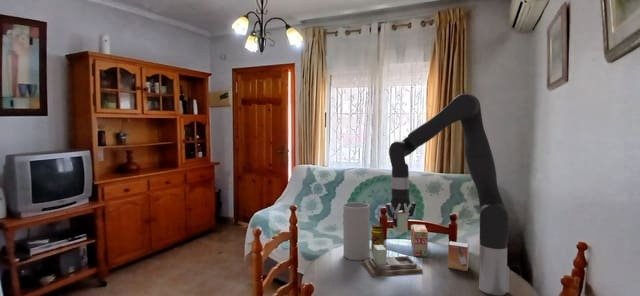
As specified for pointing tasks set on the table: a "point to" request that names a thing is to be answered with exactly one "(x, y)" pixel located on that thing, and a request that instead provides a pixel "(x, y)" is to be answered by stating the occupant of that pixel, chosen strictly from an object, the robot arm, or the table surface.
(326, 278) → the table surface
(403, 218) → the loose block
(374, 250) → the block
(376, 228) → the condiment
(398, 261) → the tray
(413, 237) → the stack of blocks
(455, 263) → the small box
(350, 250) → the cylinder vase
